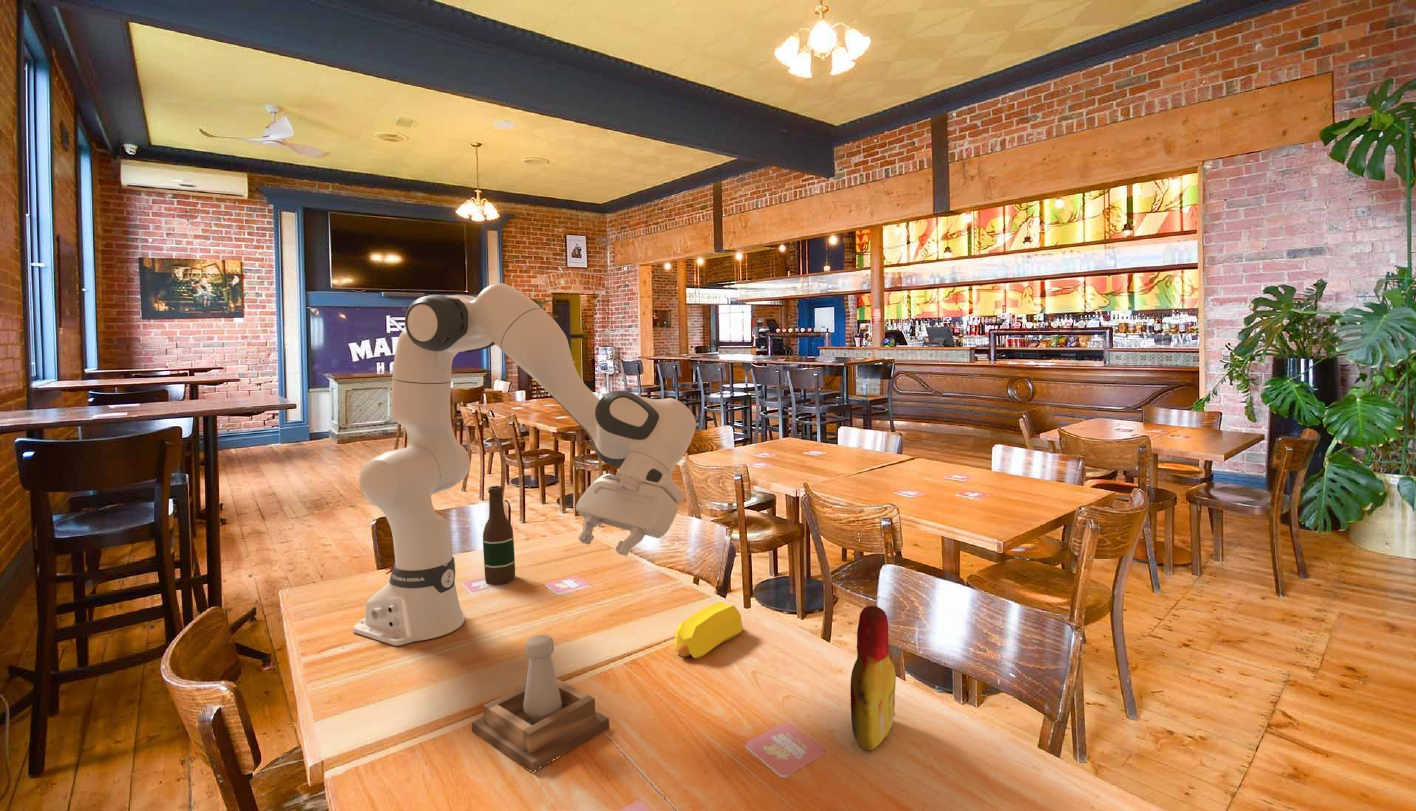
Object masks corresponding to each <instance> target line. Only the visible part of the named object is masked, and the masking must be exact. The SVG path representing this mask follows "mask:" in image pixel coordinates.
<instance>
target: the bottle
mask: <svg viewBox="0 0 1416 811" xmlns="http://www.w3.org/2000/svg"><path fill="white" fill-rule="evenodd" d="M858 617H859V618H858V626H857V633H856V653H857V656H856V660H855V662H854V665H853V667H852V670H851V676H850V693H849V695H850V715H851V716H850V718H851V728H852V732H853V736H854V739H855V741H856V743H857V744H858V746H860V747H861V748H863V749H865V750H869V751H871V750H872V751H873V750H875V749H876V748H877V747H878V746H879V745H880V744H881V743H882V742H883V741H884V740H885V738H886V737H888V735H889V734H890V729H891V728H892V726H893V723H894V717H895V716H896V712H895V706H896V705H895V704H896V684H897V683H896V680H897V676H896V675H897V674H896V667H895V666H894V663H893V662H892V660H891V659H890V654H889V652H890V651H889V620H888V615H887V614H886V611H885V610H883V609H882V608H880V607H879V606H876V605H867V606H864V608H862V610H861V612H860V614H859V616H858Z"/></svg>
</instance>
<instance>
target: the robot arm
mask: <svg viewBox="0 0 1416 811" xmlns="http://www.w3.org/2000/svg"><path fill="white" fill-rule="evenodd" d="M404 327H405V329H404V330H402V332H400V334H399V336H398V339H397V344H396V348H395V353H394V360H393V364H392V365H393V366H392V377H391V378H392V379H391V380H392V382H391V383H392V385H391V404H390V406H391V408H390V414H391V416H392V419H393V420H394V421H395V422H396V423H397V424H398V425H401V426H402V427H403V428H404V430H405V433H406V436H407V437H406V438H407V447H402V448H398V449H393V450H388V451H385V452H383V453H381V454H379V455H377V456H375V457H373V458H371V459H370V460H369V461H367V462H366V463H365V464H364V465H363V466H362V467H361V468H360V469H361V470H360V472H359V477H358V478H359V479H358V484H359V488H360V491H361V494H362V495H363V496H364V499H365V500H367V501H368V502H369V503H370V504H372V505H373V506H375V507H377V508H378V509H379V510H380V511H381V512H382V513H383V515H384V516H385V518H386V520H387V522H388V524H389V527H390V531H391V534H392V542H393V553H394V560H395V561H394V564H393V565H391V566H390V567H387V568H385V569H384V571H386V572H385V573H384V574H385V575H388V574H390V573H391V574H390V576H389V577H390V578H389V581H388V582H387V583H386V584H385V585H384V586H383V587H381V588H380V589H379V590H378V591H376V592H375V593H374V594H373V595H372V596H371V597H370V598H369V599H368V601H366V602H367V603H366V604H365V612H364V613H365V614H364V616H365V617H364V618H362V619H360V620H359V621H358V622H357V623H355V625H354V626H353V629H352V631H353V633H355V634H358V635H361V636H364V637H368V638H370V639H372V640H373V639H374V640H376V641H379V642H383V643H385V644H388V645H392V646H395V647H396V646H402V645H407V644H411V643H413V642H418V641H425V640H430V639H431V640H433V639H434V638H435V639H436V638H439V637H441V636H445V635H448V634H450V633H452V632H454V631H456V630H457V629H459V628H461V626H462V625H463V624H464V623H465V617H464V614H463V613H462V612H463V611H462V609H461V605H460V601H459V597H458V592H457V587H456V582H455V579H456V562H455V557H454V556H453V549H452V534H451V525H450V522H449V520H448V519H446V518H445V517H443V516H442V515H440V514H437V512H436V510H435V507H434V505H433V501H432V495H435V494H438V493H441V492H444V491H447V490H450V489H451V488H453V487H454V486H456V485H458V484H459V483H460V482H462V481H463V480H464V479H465V478H466V477H467V476H468V474H469V472H470V468H471V458H470V456H469V453H468V451H467V450H466V448H465V447H464V446H463V445H462V444H460V443H459V441H458V440H457V438H456V434H455V432H454V429H453V425H452V424H453V423H452V419H451V392H452V391H451V390H452V366H453V360H454V358H455V357H456V355H457V354H458V353H460V352H461V353H472V352H476V351H482V350H485V349H490V348H492V347H494V346H496V347H497V348H499V349H500V350H501V351H502V352H503V353H504V354H505V355H506V356H507V357H508V358H510V360H512V361H513V362H514V364H516V365H517V366H518V367H520V369H522V370H523V371H524V372H525V373H527V374H528V376H530V377H531V378H533V380H534V381H535V382H536V383H537V384H539V385H540V386H541V387H542V388H543V389H544V390H546V391H547V393H548V394H549V395H550V396H551V397H552V398H553V399H554V400H555V401H556V402H557V403H558V404H559V405H560V406H561V407H562V408H563V410H565V412H566V413H567V414H568V415H569V416H570V417H571V418H572V419H573V420H574V421H575V422H576V423H577V424H578V426H580V427H581V429H582V430H583V431H584V432H585V433H586V434H587V436H588V437H589V441H590V442H591V445H592V447H593V450H594V453H595V454H596V455H597V457H598V458H599V459H600V460H601V461H602V462H603V463H605V464H607V465H610V466H613V467H619V468H618V470H617V471H616V473H615V474H613V473H610V472H609V473H605V474H604V475H601V476H599V477H598V478H596V479H595V480H594V481H593V482H592V483H591V484H590V485H589V486H588V487H587V488H586V490H585V491H584V492H583V494H582V495H581V497H580V498H579V499H578V501H577V502H576V504H575V511H576V512H577V513H578V514H579V515H580V516H581V517H583V524H582V531H581V533H580V534H579V536H578V540H579V541H580V542H581V543H582V544H585V545H590V544H591V543H592V541H593V540H594V538H595V536H594V535H593V530H594V528H596V527H597V526H598V524H599V523H600V524H601V525H607V526H610V527H613V528H619V529H621V530H625V531H629V533H630V534H629V535H628V536H627V537H626V538H624V540H619V542H618V543H617V545H616V546H615V551H616V553H618V554H619V555H622V556H625V557H626V556H628V555H629V553H630V551H632V550H631V549H632V548H634V547H635V546H636V545H638V544H639V543H641V542H642V541H643V539H644V537H645V536H648V537H652V538H655V539H660V538H662V537H663V536H665V535H666V534H667V533H668V532H669V530H670V527H672V524H673V522H674V520H675V518H676V516H677V515H678V511H679V505H680V504H682V502H684V499H685V496H686V495H685V493H684V492H683V490H682V489H681V488H680V486H678V485H677V484H676V482H675V481H674V480H673V479H672V477H673V473H674V470H675V467H676V466H677V465H678V464H679V462H681V460H683V458H684V456H685V454H686V452H687V451H688V449H689V447H690V444H691V443H692V440H693V437H694V436H695V432H696V427H697V422H696V421H697V420H696V417H695V416H694V414H693V413H692V411H691V409H690V408H689V407H688V406H687V405H686V404H684V402H682V401H680V400H678V399H677V398H676V399H675V398H671V397H668V398H662V399H660V398H659V399H656V398H649V397H648V398H647V397H645V396H639V395H637V394H635V393H633V392H631V391H628V390H613V391H611V392H608V393H607V394H605V395H604V396H602V397H601V398H599V397H598V396H597V395H596V394H595V393H594V392H593V391H592V390H591V389H590V388H589V387H588V386H587V385H586V384H585V383H584V381H583V380H582V378H581V377H580V375H579V372H578V371H577V368H576V366H575V363H574V359H573V355H572V352H571V348H570V344H569V341H568V338H567V335H566V333H565V332H564V330H563V329H562V327H560V325H559V324H558V323H557V322H556V320H555V319H554V318H553V317H552V316H551V315H550V314H549V313H548V312H547V311H545V310H544V309H543V308H542V307H541V306H540V305H539V304H537V303H536V302H535V301H534V300H532V299H531V298H529V296H527V295H526V294H524V293H523V292H521V291H520V290H518V289H516V288H514V287H512V286H511V285H509V284H507V283H503V282H501V283H500V282H498V283H493V284H491V285H488V286H486V287H485V288H483V289H482V290H481V291H480V293H479V294H478V295H477V296H471V295H466V294H454V295H450V294H449V295H447V294H446V295H445V294H444V295H442V294H432V295H426V296H421V297H419V298H417V299H415V300H414V301H412V302H411V303H410V305H409V306H408V308H407V310H406V313H405V315H404Z"/></svg>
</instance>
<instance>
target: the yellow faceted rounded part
mask: <svg viewBox="0 0 1416 811" xmlns="http://www.w3.org/2000/svg"><path fill="white" fill-rule="evenodd" d="M743 628H744V627H743V621H742V616H741V613H740V612H739V609H737V607H736V605H735V604H727V603H724V602H722V601H718V602H716V603H714V604H711V605H709V606H706V607H703V608H702V609H700V610H699V611H697V612H695V613H694V614H693V615H691V616H690V617H688V618H686V619H685V620H683V621H682V622H680V623H679V625H677V626H676V628H675V637H674V651H675V652H677V653H678V655H679V656H680V657H683V658H684V657H685V658H686V657H688V656H690V655H691V657H692V658H694V659H698V660H699V659H701V658H702V657H704V656H705V655H707V654H708V653H710V652H711V651H712V650H713V649H715V648H716V647H717V646H719V645H721V644H723V643H724V642H727V641H729V640H730V639H733V638H734V637H737V636H738V635H739V634H740V633H742V631H743Z"/></svg>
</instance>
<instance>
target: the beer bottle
mask: <svg viewBox="0 0 1416 811" xmlns="http://www.w3.org/2000/svg"><path fill="white" fill-rule="evenodd" d="M503 492H504V488H503V486H502V485H501V486H500V485H492V486H489V487H488V491H487V493H489V500H488V502H489V503H488V504H489V506H488V507H489V508H488V509H489V510H488V511H489V512H488V519H487V521H486V523H485V524H484V529H483V531H482V550H483V563H484V564H483V565H484V579H485V583H486V584H489V585H493V586H497V585H506V584H509V583H511V582H513V581H514V582H515V579H516V561H515V540H514V529H513V526H512V524H511V522H510V520H509V519H508V518H507V517H506V513H505V506H504V497H503Z"/></svg>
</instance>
